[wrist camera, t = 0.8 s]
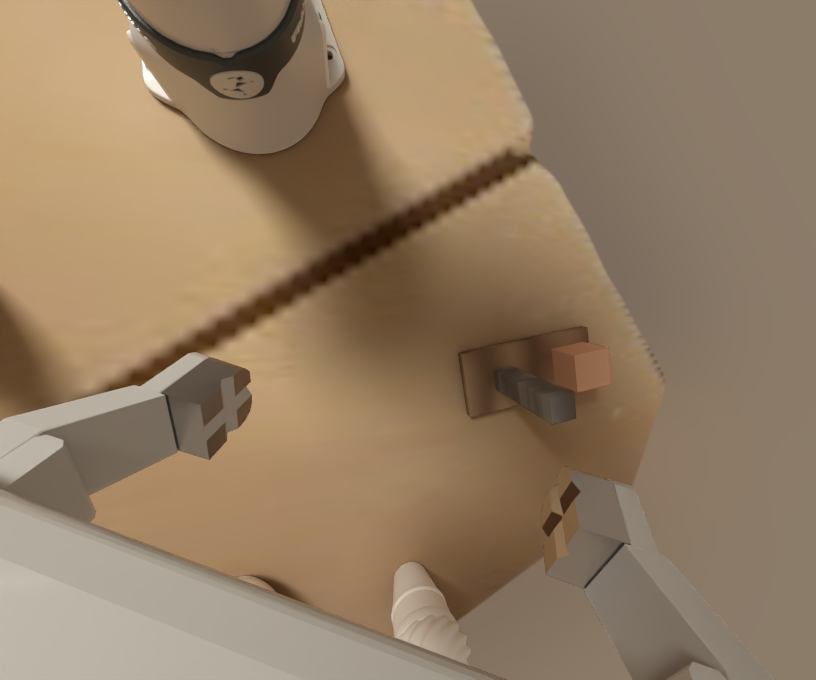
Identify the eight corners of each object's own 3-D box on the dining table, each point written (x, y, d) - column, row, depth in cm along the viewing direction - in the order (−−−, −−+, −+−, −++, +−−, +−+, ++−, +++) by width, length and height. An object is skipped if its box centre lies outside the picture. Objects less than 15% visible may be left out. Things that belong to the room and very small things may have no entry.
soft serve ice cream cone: (367, 567, 47) (385, 705, 32) (426, 535, 48) (471, 653, 33) (393, 615, 49) (423, 768, 33) (449, 583, 50) (502, 717, 35)
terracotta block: (555, 382, 47) (577, 392, 43) (551, 348, 47) (574, 355, 42) (586, 375, 48) (611, 384, 44) (583, 341, 47) (608, 347, 43)
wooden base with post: (467, 414, 47) (518, 462, 34) (458, 353, 45) (507, 379, 33) (586, 384, 50) (674, 418, 37) (581, 326, 48) (671, 340, 36)
